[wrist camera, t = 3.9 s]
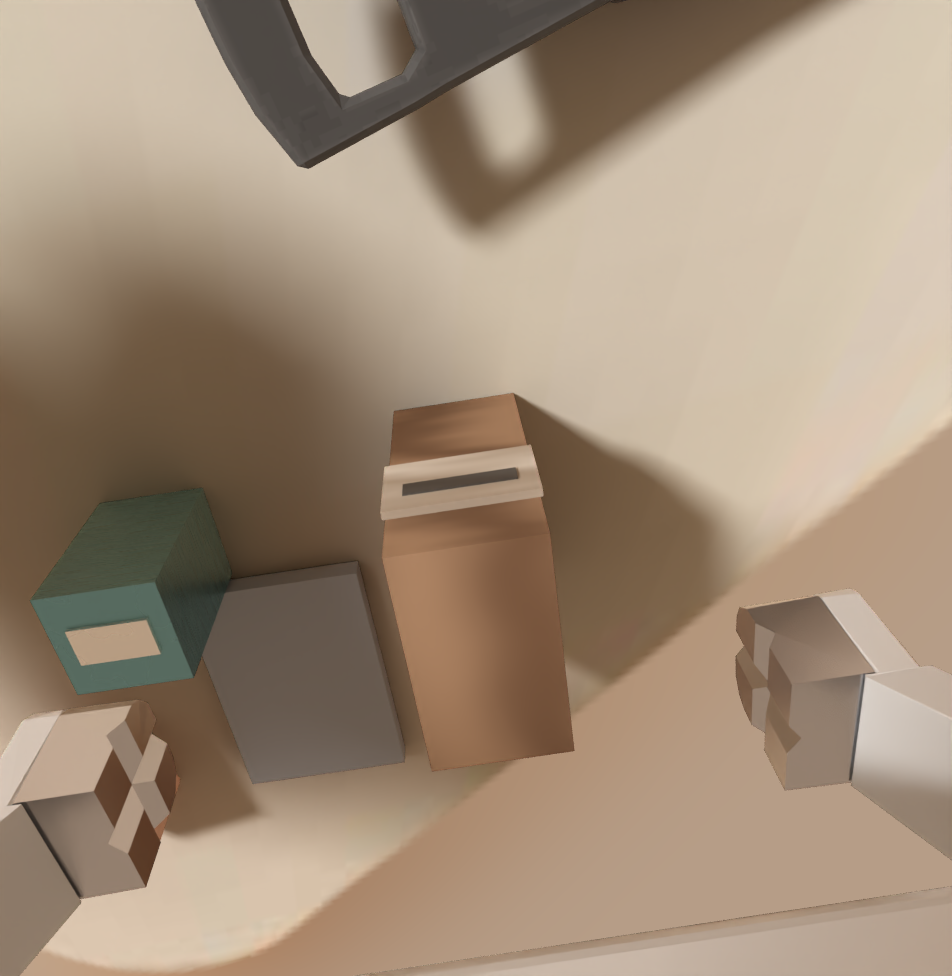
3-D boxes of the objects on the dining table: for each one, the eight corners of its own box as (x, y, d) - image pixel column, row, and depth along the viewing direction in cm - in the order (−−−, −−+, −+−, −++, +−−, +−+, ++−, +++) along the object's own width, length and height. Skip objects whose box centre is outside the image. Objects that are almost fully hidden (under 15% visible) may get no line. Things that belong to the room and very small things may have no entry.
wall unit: (428, 592, 38) (430, 777, 28) (390, 403, 33) (375, 548, 23) (538, 575, 38) (577, 756, 28) (514, 384, 33) (552, 522, 23)
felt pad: (256, 769, 43) (252, 784, 42) (185, 586, 37) (179, 599, 36) (405, 747, 42) (404, 762, 42) (357, 560, 37) (356, 573, 36)
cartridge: (135, 587, 37) (76, 697, 30) (99, 503, 35) (27, 603, 28) (232, 572, 37) (192, 680, 30) (202, 487, 34) (153, 584, 28)
